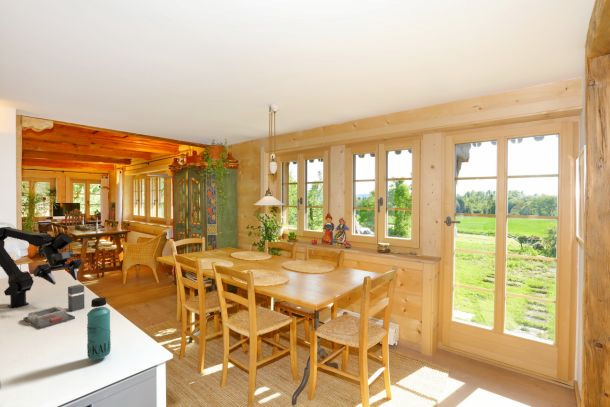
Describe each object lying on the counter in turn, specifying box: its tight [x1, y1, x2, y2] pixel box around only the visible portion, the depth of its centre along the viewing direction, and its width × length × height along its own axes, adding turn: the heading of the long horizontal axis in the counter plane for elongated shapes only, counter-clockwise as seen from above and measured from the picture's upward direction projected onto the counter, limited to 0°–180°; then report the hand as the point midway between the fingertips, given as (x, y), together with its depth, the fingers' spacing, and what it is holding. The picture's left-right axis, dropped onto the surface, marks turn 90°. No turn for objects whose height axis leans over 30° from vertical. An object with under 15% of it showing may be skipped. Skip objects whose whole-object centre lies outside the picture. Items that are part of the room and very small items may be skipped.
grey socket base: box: [22, 306, 76, 330], centre depth 134 cm, size 18×12×3 cm, turn 59°
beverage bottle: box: [86, 296, 112, 360], centre depth 101 cm, size 6×7×20 cm
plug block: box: [67, 284, 85, 313], centre depth 147 cm, size 4×5×11 cm
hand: (65, 281), depth 147 cm, fingers open, 9 cm apart
